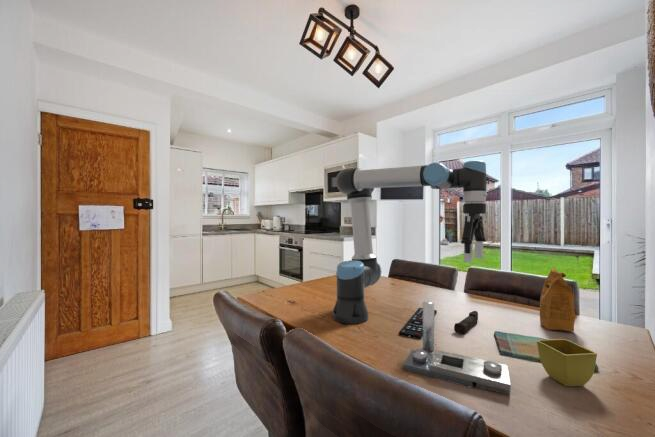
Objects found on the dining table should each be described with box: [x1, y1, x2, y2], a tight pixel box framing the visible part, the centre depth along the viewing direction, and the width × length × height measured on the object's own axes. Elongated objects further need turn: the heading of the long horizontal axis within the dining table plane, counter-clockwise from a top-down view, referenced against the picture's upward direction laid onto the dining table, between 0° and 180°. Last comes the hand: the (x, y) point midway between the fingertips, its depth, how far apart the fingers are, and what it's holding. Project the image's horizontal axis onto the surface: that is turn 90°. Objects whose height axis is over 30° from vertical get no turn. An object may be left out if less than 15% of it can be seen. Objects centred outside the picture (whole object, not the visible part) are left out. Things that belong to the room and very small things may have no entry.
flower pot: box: [537, 338, 598, 387], centre depth 72 cm, size 9×9×9 cm
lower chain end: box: [403, 348, 473, 388], centre depth 78 cm, size 17×10×4 cm, turn 61°
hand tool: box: [453, 310, 479, 335], centre depth 108 cm, size 19×4×5 cm, turn 132°
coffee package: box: [539, 267, 576, 332], centre depth 107 cm, size 10×12×22 cm
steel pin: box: [422, 300, 435, 353], centre depth 90 cm, size 4×4×15 cm
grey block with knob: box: [430, 349, 511, 396], centre depth 74 cm, size 18×10×4 cm, turn 61°
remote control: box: [398, 307, 438, 340], centre depth 112 cm, size 8×32×2 cm, turn 149°
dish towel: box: [493, 330, 599, 372], centre depth 88 cm, size 17×23×2 cm
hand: (473, 260), depth 103 cm, fingers open, 13 cm apart
